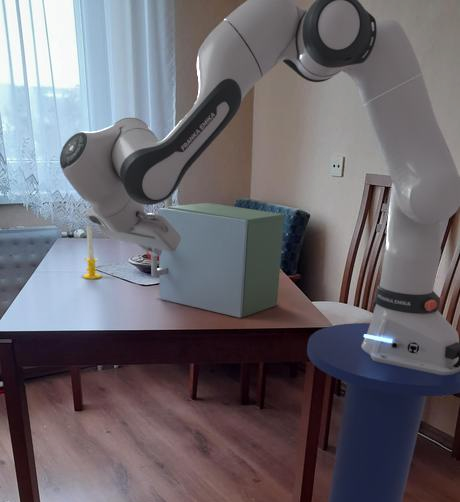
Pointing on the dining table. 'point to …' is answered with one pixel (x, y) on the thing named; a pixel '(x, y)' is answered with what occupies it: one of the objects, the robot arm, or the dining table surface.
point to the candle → (91, 257)
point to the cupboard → (254, 252)
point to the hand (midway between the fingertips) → (156, 252)
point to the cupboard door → (204, 262)
